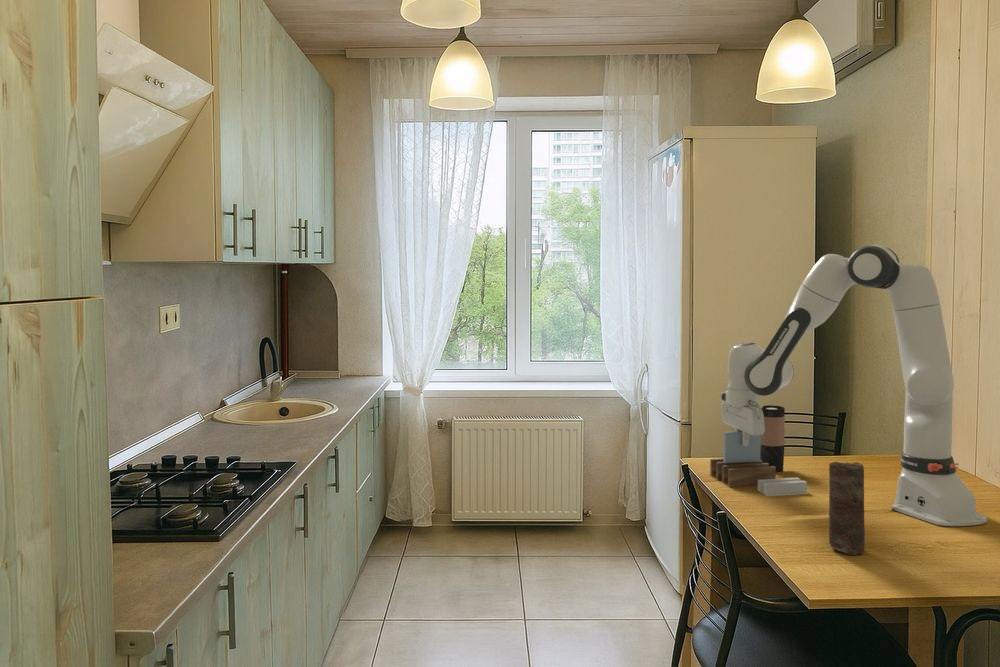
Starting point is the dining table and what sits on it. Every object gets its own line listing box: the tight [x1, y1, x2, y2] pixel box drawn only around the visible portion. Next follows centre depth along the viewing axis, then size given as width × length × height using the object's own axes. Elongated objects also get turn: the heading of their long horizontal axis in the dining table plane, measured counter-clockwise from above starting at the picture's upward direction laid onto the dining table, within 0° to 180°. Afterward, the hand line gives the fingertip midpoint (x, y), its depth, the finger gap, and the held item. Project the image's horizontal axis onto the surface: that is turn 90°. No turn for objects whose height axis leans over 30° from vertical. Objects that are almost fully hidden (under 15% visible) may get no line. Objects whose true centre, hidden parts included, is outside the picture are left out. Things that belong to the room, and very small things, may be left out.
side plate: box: [722, 430, 761, 463], centre depth 238 cm, size 1×11×9 cm, turn 99°
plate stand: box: [756, 476, 809, 497], centre depth 225 cm, size 7×12×4 cm, turn 100°
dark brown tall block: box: [828, 461, 866, 556], centre depth 181 cm, size 8×7×20 cm
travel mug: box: [760, 404, 786, 473], centre depth 251 cm, size 8×8×20 cm
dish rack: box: [709, 457, 777, 489], centre depth 238 cm, size 14×14×6 cm
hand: (742, 444), depth 238 cm, fingers closed on side plate, 1 cm apart
